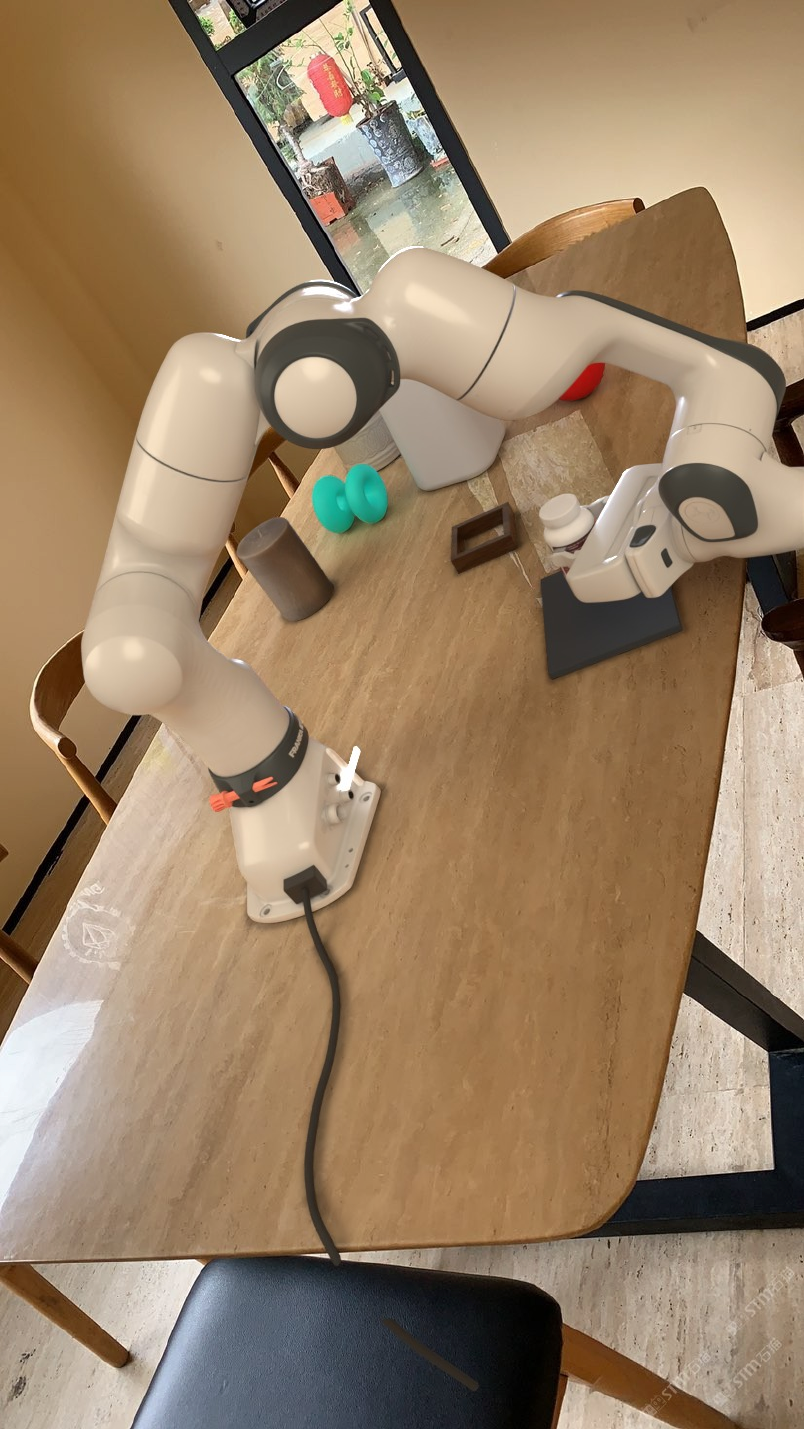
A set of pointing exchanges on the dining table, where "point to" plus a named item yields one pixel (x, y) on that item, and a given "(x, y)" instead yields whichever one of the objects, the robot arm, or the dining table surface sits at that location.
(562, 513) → the pill bottle
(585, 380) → the tomato
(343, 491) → the teal spool
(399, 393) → the plastic bottle
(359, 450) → the jar
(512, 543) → the frame
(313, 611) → the pillar candle
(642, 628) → the mat
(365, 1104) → the dining table surface
